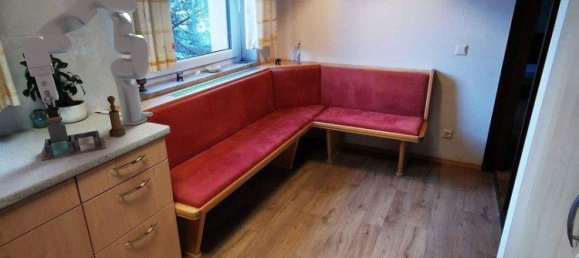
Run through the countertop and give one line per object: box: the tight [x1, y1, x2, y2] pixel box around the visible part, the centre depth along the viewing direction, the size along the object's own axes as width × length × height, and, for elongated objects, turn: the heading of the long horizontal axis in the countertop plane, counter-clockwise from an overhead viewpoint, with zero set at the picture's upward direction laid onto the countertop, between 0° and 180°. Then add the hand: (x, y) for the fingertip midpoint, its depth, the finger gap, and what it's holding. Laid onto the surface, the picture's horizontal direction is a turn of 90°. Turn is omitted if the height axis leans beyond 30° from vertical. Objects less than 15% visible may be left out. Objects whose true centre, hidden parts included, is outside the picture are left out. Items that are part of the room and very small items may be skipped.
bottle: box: [45, 111, 69, 143], centre depth 137 cm, size 6×6×15 cm
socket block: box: [41, 130, 107, 162], centre depth 140 cm, size 22×14×6 cm, turn 122°
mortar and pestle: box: [106, 95, 127, 138], centre depth 153 cm, size 7×6×18 cm
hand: (54, 114), depth 134 cm, fingers open, 9 cm apart
